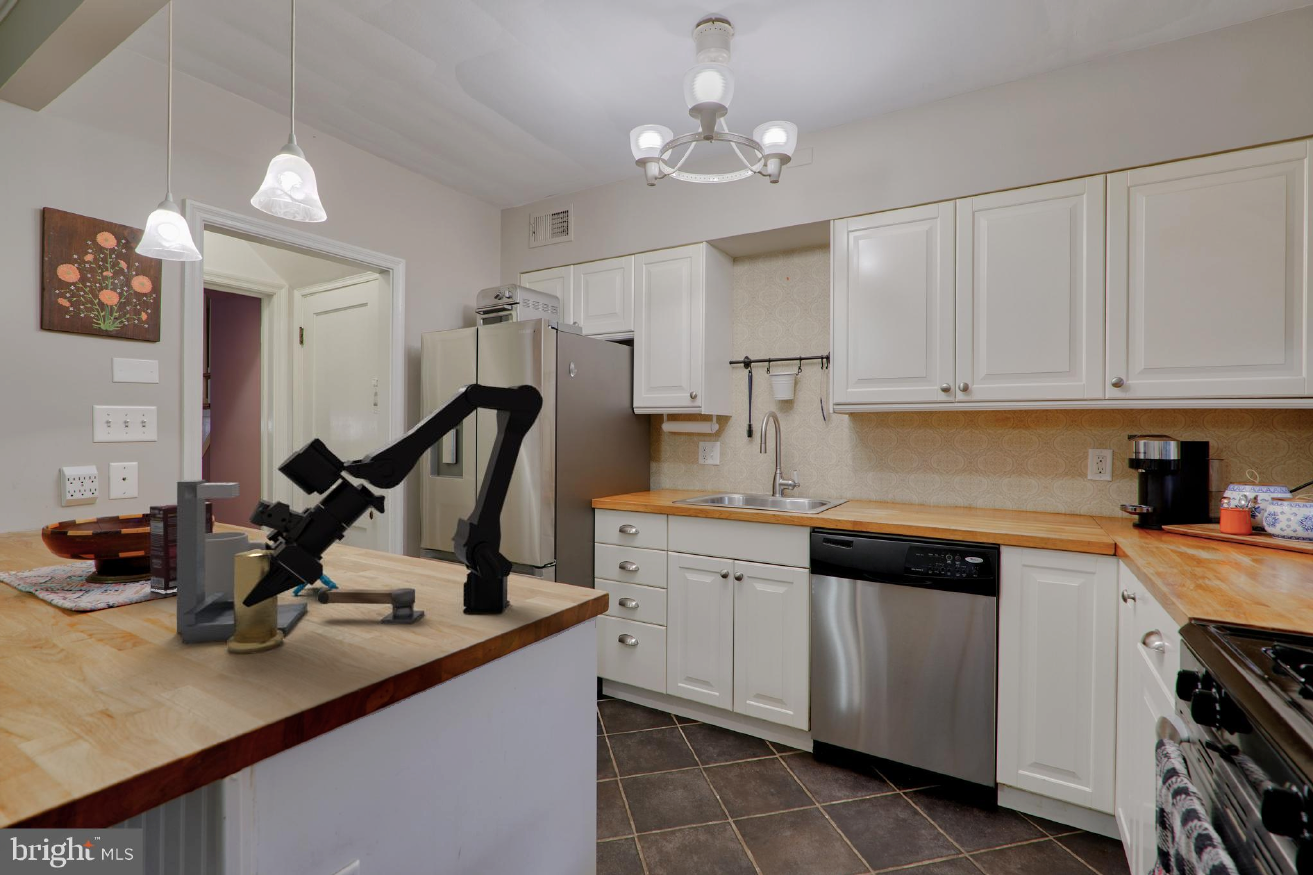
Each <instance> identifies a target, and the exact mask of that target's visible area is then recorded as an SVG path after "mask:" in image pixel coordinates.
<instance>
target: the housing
mask: <svg viewBox="0 0 1313 875" xmlns="http://www.w3.org/2000/svg"><path fill="white" fill-rule="evenodd" d="M274 552H275V551H273V550H260V549H256V550H251V551H248V552H242V553H238V554H235V555H234V636H233V637H231V638H230V639H228V641H227V652H228V653H230V654H234V655H249V654H250V655H251V654H257V653H263V652H266V651H270V650H273V649H276V648H278V647H280V646H281V645H283V643H284V635H283V632H282V631H279V630H277V625H278V605H279V604H278V602H279V601H278V600H279V599H278V596H279V594H278V595H276V596H273V597H271V598H269V599H267V600H265V601H262V602H260V603H258V604H256V605H253V606H251V607H246V606H245V605H243V603H242V602H243V600H244V599H245V598H246V596H247V595H248V594H249V592H250V591H251V590H252V589H253V587H254V586H255V585H256V584H257V582H258V581H259V580H260V578H261V577H262V576H263V575H264V573H265V572H266V571H267V570H268V567H269V553H271V554H272V555H273V553H274Z"/></svg>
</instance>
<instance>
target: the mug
mask: <svg viewBox="0 0 1313 875" xmlns="http://www.w3.org/2000/svg"><path fill="white" fill-rule="evenodd" d="M255 550H265V542H264V541H259V540H249V534H248V533H247V532H242V531H241V532H240V531H224V532H222V531H221V532H219V531H218V532H213V533H209V534H205V599H206V598H208V597H209V596H211V595H212V594H214V593H215V592H217V591H228V600H229V599H234V555H235V554H238V553H242V552H248V551H255Z"/></svg>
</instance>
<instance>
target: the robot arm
mask: <svg viewBox="0 0 1313 875" xmlns="http://www.w3.org/2000/svg"><path fill="white" fill-rule="evenodd" d="M543 398H544V397H543V396H542V395H541V392H540V391H539V389H538V388H537V387H535V386H533V385H532V384H531V385H530V384H521V385H520V384H519V385H511V386H507V387H504V386H501V387H500V386H492V385H490V386H489V385H482V384H480V383H469V384H464V385H463V386H461V387H460V388H459V390H458V391H457V392H456V393H454V394H453V395H452V396H451V397H450V398H448V399H447V400H446V401H444V403H442V404H441V405H439V406H438V407H436V409H435V410H434V411H432V412H431V413H430V414H428V415H427V416H426V417H425V418H423V419H422V420H421V421H420V422H418V423H417V424H416V425H415V426H414V427H412V428H411V429H409V431H407V432H406V433H404V434H402V435H401V436H399V437H397V438H395V439H393V440H390V441H389V442H386V443H384V444H383V445H381V446H379V447H377V448H375V449H374V450H372V451H370V452H368V453H367V454H365V455H364V456H363V458H360V459H353V460H352V459H351V460H349V459H347V460H346V461H342V460H341V459H340V458H339V457H338V455H335V454H334V452H332V451H331V449H329V448H328V447H327V446H326V444H325V443H324V442H323V441H322V440H321V439H320V438H319V437H314V438H313V439H311V441H310V442H308V443H306V444H305V445H303V446H302V447H301V448H300V449H299V450H295V451H294V452H293V453H292V454H291V455H289V456H288V457H287V458H286V459H285V460H284V461H283V462H282V463H281V464H280V465H279V466H278V468H277V470H278V471H279V472H280V473H281V474H282V475H283V476H285V477H286V478H287V479H288V480H290V481H291V482H292V483H293V484H294V485H295V486H296V487H298V488H299V489H300V490H301V491H303V492H304V493H305V494H306V495H308V496H311V495H313V494H315V493H317V495H319V496H321V495H324V494H325V493H326V492H328V491H329V490H330V489H331V488H332V487H333V486H335V484H336V483H337V485H336V486H335V487H334V488H332V490H330V491H329V492H328V493H327V494H326V495H325V496H323V498H322V499H321V500H319V501H318V503H316V504H315V505H314V506H313V507H311V506H310V507H306V508H304V509H303V510H302V511H301V512H299V511H296V510H293V509H291V507H290V506H291V505H290V504H289V503H284V502H282V501H280V500H277V501H275V502H274V503H273V502H271V501H268V500H265V499H262V498H260V499H259V500H258V502H257V504H256V506H255V508H254V509H253V511H252V513H251V515H250V517H249V519H248V520H249V522H250V523H251V524H253V525H255V526H258V527H266V528H269V529H272V530H271V531H270V532H269V533H268V534H267V535H266V539H267V540H268V541H269V542H273V543H271V544H270V543H268V542H267V541H265V542H264V543H265V550H273V551H275V552H274V553H273V555H272V554H271V553H269V567H268V570H267V571H266V572H265V573H264V575H263V576H262V577H261V578H260V580H259V581H258V582H257V584H256V585H255V586H254V587H253V589H252V590H251V591H250V592H249V594H248V595H247V596H246V598H245V599H244V600H243V602H242V603H243V605H245V606H246V607H251V606H253V605H256V604H258V603H260V602H262V601H265V600H267V599H269V598H271V597H273V596H276V595H278V596H279V595H280V594H282V593H285V592H287V591H289V590H292V589H296V588H297V587H298V586H299V585H304V584H306V582H307V583H309V584H308V585H310V586H314V584H315V583H316V582H317V581H319V578H320V577H321V576H322V575H323V574H324V565H323V563H322V562H321V560H322V559H323V558H324V556H322V555H323V554H324V553H325V552H326V551H327V550H328V549H329V548H330V547H331V546H332V545H334V544H335V542H336V541H337V540H338V541H339V542H341V541H342V540H343V539H344V538H345V537H346V535H345V533H346V532H347V531H348V530H349V528H351V527H352V526H353V525H354V524H355V523H356V522H357V521H358V520H359V519H360V518H361V517H362V516H363V515H364V514H365V513H366V512H367V511H369V509H370V508H373V509H374V510H375V512H378V513H380V514H382V515H383V514H385V512H386V509H385V508H386V507H385V501H386V496H385V495H384V494H375V493H374V492H373V491H372V490H370V488H368V487H367V486H366V485H365V484H364V483H363V482H361V483H359V484H357V485H354V484H353V483H352V482H351V481H350V480H348V479H347V478H346V477H345V476H344V475H343V474H342V473H343V472H344V473H345V474H346V475H348V476H350V477H352V478H354V479H359V480H363V481H364V482H366V483H367V484H369V485H371V486H373V487H375V488H378V489H379V490H380V489H381V490H391V489H394V488H395V487H397V486H398V485H400V484H402V482H403V481H404V480H405V478H407V476H408V475H409V474H410V473H411V471H412V470H413V469H414V468H415V466H416V465H417V463H418V462H419V461H420V459H421V457H422V456H423V455H424V454H425V453H426V452H427V451H428V450H429V449H430V448H431V447H433V446H434V445H435V444H436V443H437V442H439V441H440V440H441V439H442V438H444V437H445V436H446V435H447V434H448V433H449V432H451V431H452V430H453V429H455V427H457V426H458V425H459V424H460V423H462V421H464V420H465V419H466V418H468V417H469V416H470V415H471V414H472V413H473V412H475V411H476V410H478V409H485V410H490V411H491V410H494V411H496V414H495V416H496V429H497V431H496V436H495V439H494V442H493V445H492V449H491V453H490V456H489V459H488V462H487V465H486V469H485V473H484V475H483V479H482V482H481V485H480V489H479V491H478V495H477V499H476V502H475V505H474V508H473V510H472V512H471V513H470V514H469V516H468V518H467V519H464V518H462V517H459V518H458V519H457V525H456V531H455V532H454V535H453V536H452V538H451V539H450V541H452V542H454V543H453V552H454V554H455V555H456V557H457V558H458V559H459V560H460V561H461V562H462V563H463V564H464V566H465V568H466V570H467V571H470V572H468V573H467V574H466V581H465V582H464V583H463V589H462V592H463V595H462V596H463V599H462V600H463V603H462V604H463V606H462V607H463V608H464V609H463V610H462V613H464V614H488V615H489V614H491V615H493V614H496V615H499V614H502V613H503V612H504V611H505V610H506V609H507V607H508V606H509V605H510V604H511V600H509V599H508V577H510V575H511V571H512V569H513V566H514V564H513V563H512V562H511V561H510V560H509V559H508V558H507V557H506V556H505V555H503V553H501V552H500V550H501V540H502V529H501V528H502V526H501V515H502V511H503V508H504V505H505V502H506V497H507V494H508V492H509V491H508V490H509V488H510V484H511V481H512V477H513V474H514V471H515V467H516V464H517V461H518V457H519V454H520V451H521V447H522V444H523V441H524V438H525V437H526V435H527V434H528V432H529V431H530V430H531V428H532V427H533V426H534V425H535V423H536V421H537V419H538V416H539V414H540V412H541V410H542V408H543V406H544V405H543V403H544V399H543ZM338 481H340V482H339V483H338Z"/></svg>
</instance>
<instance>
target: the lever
mask: <svg viewBox="0 0 1313 875" xmlns="http://www.w3.org/2000/svg"><path fill="white" fill-rule="evenodd" d="M316 598H317V601H318V603H320V604H322V605H329V604H357V605H358V604H359V605H360V604H363V605H365V604H366V605H369V604H370V605H371V604H372V605H374V604H375V605H391V606H398V607H401V606H409V605H412V604H414V605H415V603H416V589H414V588H412V587H411V588H410V587H404V588H403V587H402V588H396V589H359V588H358V589H355V588H354V589H353V588H344V589H343V588H339V589H331V588H329V587H323V588H321V589H320V590H319V591H318V592H317V595H316Z"/></svg>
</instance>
